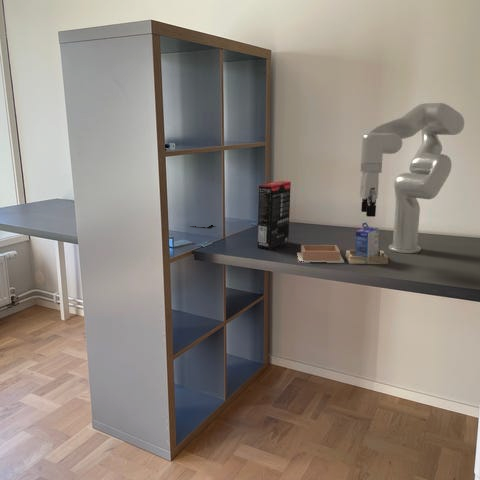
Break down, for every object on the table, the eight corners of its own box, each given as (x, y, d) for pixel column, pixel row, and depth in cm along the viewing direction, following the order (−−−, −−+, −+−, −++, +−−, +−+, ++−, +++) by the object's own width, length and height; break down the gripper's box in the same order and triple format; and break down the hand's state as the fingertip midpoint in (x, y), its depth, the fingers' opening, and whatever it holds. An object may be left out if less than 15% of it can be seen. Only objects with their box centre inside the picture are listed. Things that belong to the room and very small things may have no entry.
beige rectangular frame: (345, 257, 195) (346, 250, 194) (381, 257, 194) (382, 250, 194) (349, 264, 185) (350, 256, 185) (387, 265, 185) (388, 257, 184)
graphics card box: (276, 240, 223) (277, 180, 216) (290, 242, 219) (291, 181, 213) (256, 248, 209) (256, 184, 202) (271, 251, 205) (271, 185, 199)
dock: (296, 254, 199) (297, 244, 198) (339, 255, 198) (340, 244, 197) (298, 263, 187) (299, 252, 186) (344, 263, 186) (344, 252, 185)
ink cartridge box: (364, 256, 195) (366, 220, 192) (378, 258, 192) (380, 222, 189) (353, 262, 188) (355, 224, 184) (367, 264, 184) (369, 226, 181)
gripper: (356, 166, 190) (354, 210, 194) (365, 170, 173) (362, 218, 177) (376, 166, 190) (373, 210, 193) (387, 170, 173) (383, 218, 177)
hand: (368, 214), depth 185 cm, fingers open, 9 cm apart
